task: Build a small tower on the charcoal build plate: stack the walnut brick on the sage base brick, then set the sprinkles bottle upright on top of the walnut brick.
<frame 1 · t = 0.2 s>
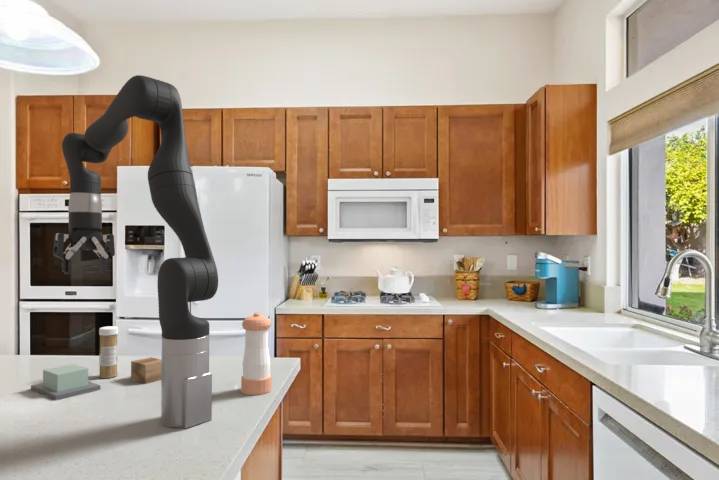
hand: (85, 273, 124), 28 cm above the countertop, tool pointing down, fingers open, 8 cm apart
salt shaker: (256, 391, 118), on the countertop
walnut brick: (148, 379, 127), on the countertop
sprinkles bottle: (108, 377, 130), on the countertop
build plate: (65, 389, 118), on the countertop
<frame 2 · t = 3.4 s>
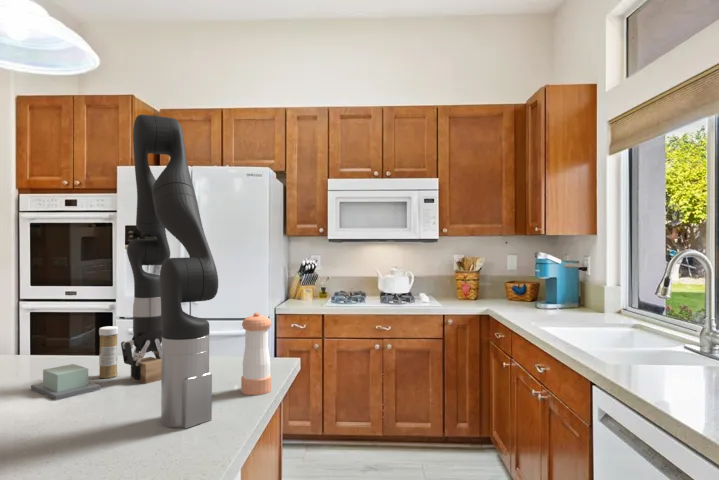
hand: (148, 376, 127), 1 cm above the countertop, tool pointing down, fingers closed on walnut brick, 5 cm apart
walnut brick: (148, 379, 127), on the countertop, touching gripper
everything else where it was.
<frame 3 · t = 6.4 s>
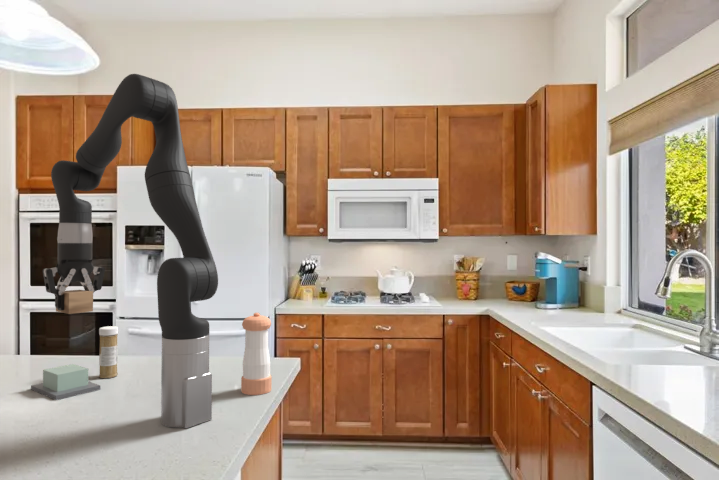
hand: (74, 308, 120), 20 cm above the countertop, tool pointing down, fingers closed on walnut brick, 5 cm apart
walnut brick: (74, 311, 120), point 19 cm above the countertop, touching gripper
everything else where it was.
when the fingers open (6 cm above the countertop, at t = 9.6 s): walnut brick stays where it is, resting on build plate.
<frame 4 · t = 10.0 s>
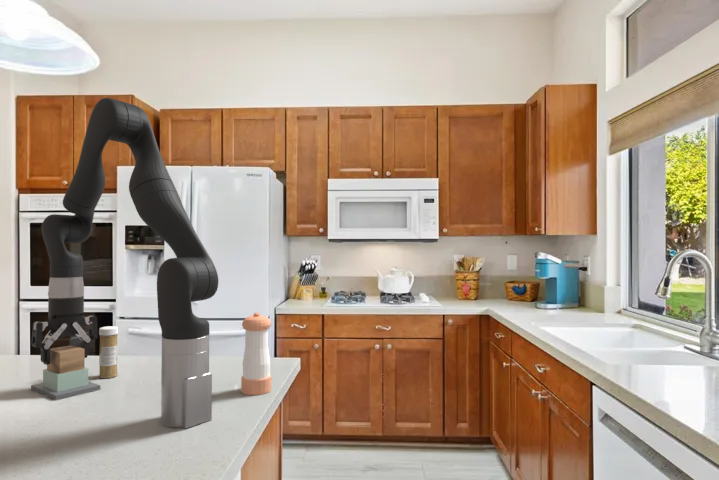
hand: (65, 360, 118), 7 cm above the countertop, tool pointing down, fingers open, 8 cm apart
walnut brick: (65, 369, 118), point 5 cm above the countertop, touching build plate
everything else where it was.
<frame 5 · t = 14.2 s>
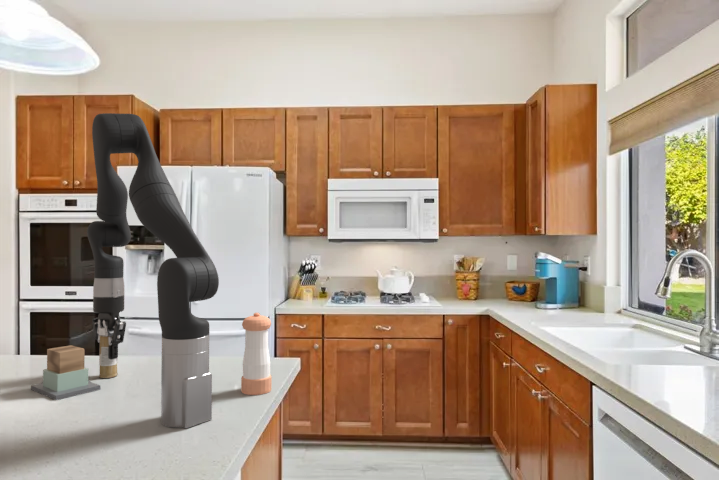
hand: (108, 357, 130), 5 cm above the countertop, tool pointing down, fingers closed on sprinkles bottle, 4 cm apart
sprinkles bottle: (108, 377, 130), on the countertop, touching gripper
everything else where it was.
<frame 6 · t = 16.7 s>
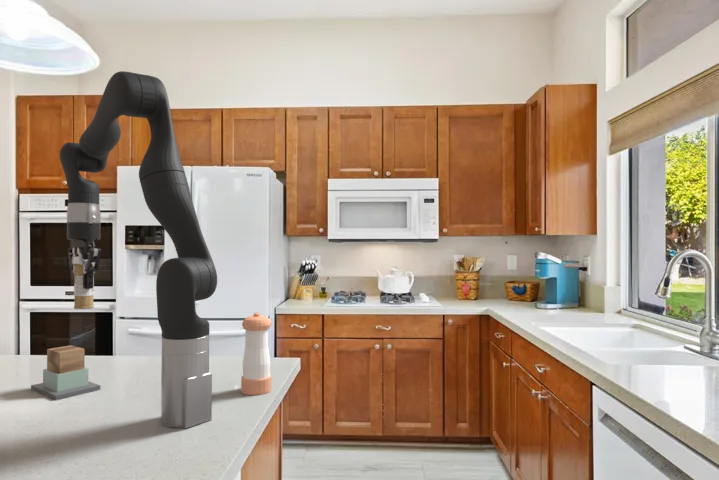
hand: (83, 287, 123), 25 cm above the countertop, tool pointing down, fingers closed on sprinkles bottle, 4 cm apart
sprinkles bottle: (84, 309, 122), point 19 cm above the countertop, touching gripper
everything else where it was.
when the fingers open (16 cm above the countertop, at t = 19.5 s): sprinkles bottle stays where it is, resting on walnut brick.
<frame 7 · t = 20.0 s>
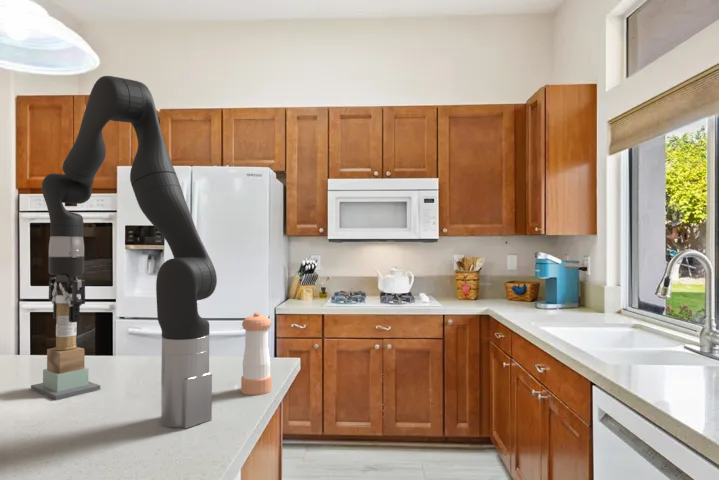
hand: (66, 320, 118), 17 cm above the countertop, tool pointing down, fingers open, 8 cm apart
walnut brick: (65, 369, 118), point 5 cm above the countertop, touching build plate, sprinkles bottle
sprinkles bottle: (66, 349, 118), point 10 cm above the countertop, touching walnut brick
everything else where it was.
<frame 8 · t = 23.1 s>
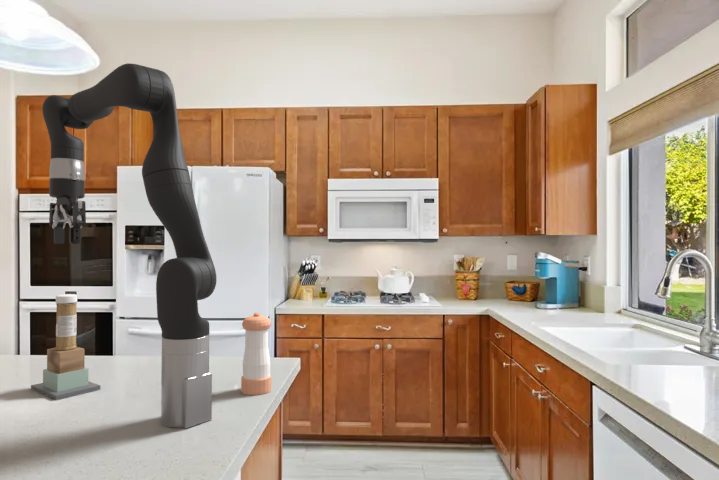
hand: (66, 243, 119), 36 cm above the countertop, tool pointing down, fingers open, 8 cm apart
nothing on the countertop moved.
at the end: walnut brick 0.0 cm off-centre on the build plate, point 5.0 cm above the build plate's base; sprinkles bottle 0.1 cm off-centre on the build plate, point 9.8 cm above the build plate's base; sprinkles bottle tilted 0° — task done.
